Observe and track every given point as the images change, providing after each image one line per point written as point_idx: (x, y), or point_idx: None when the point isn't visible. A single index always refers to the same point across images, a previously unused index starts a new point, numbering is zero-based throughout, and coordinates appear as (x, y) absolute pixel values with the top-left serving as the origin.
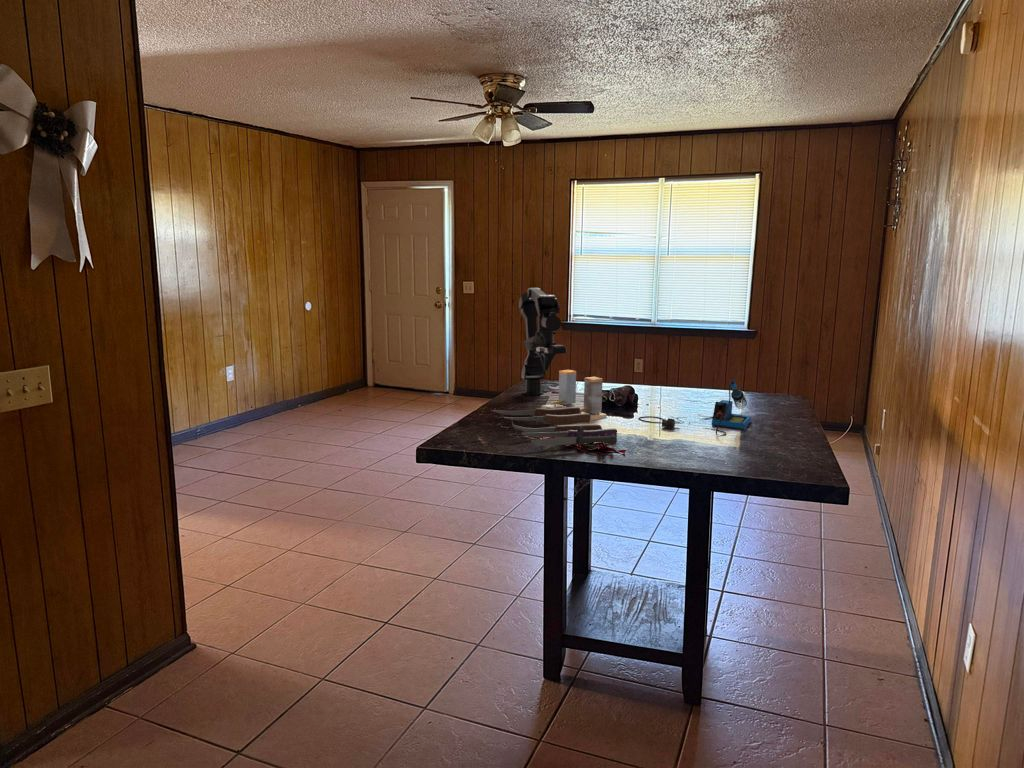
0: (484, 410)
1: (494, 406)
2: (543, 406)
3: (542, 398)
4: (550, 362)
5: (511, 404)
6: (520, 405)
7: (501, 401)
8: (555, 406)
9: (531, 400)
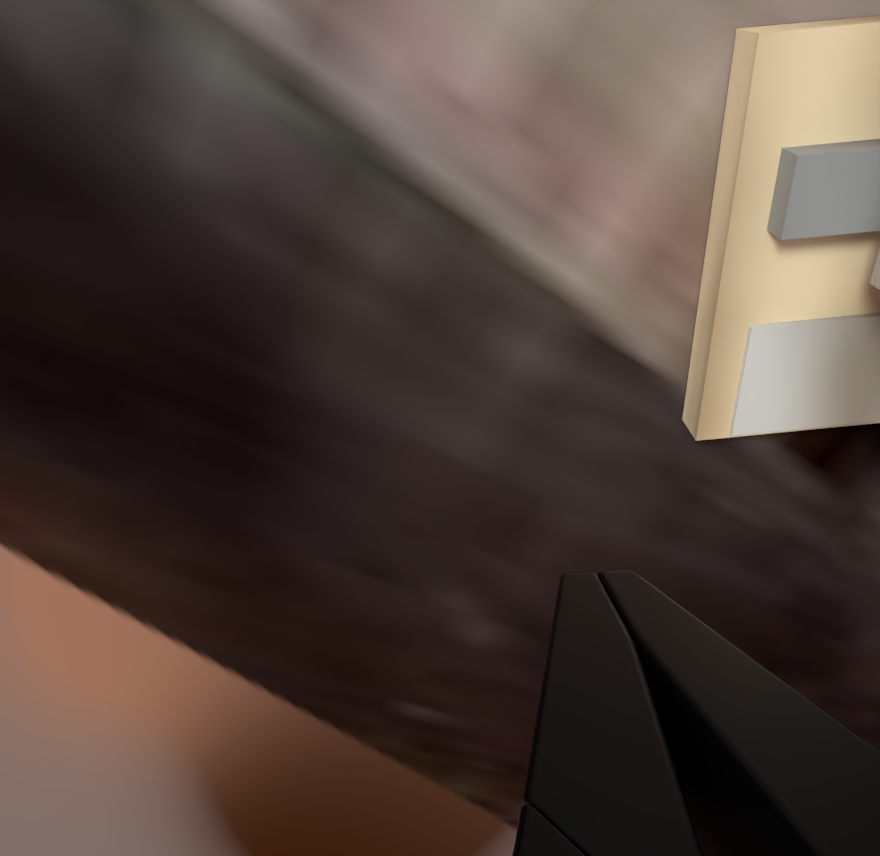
0: (440, 775)
1: (346, 694)
2: (732, 434)
3: (127, 64)
4: (867, 769)
5: (334, 567)
6: (418, 519)
7: (159, 590)
8: (870, 344)
9: (217, 297)
